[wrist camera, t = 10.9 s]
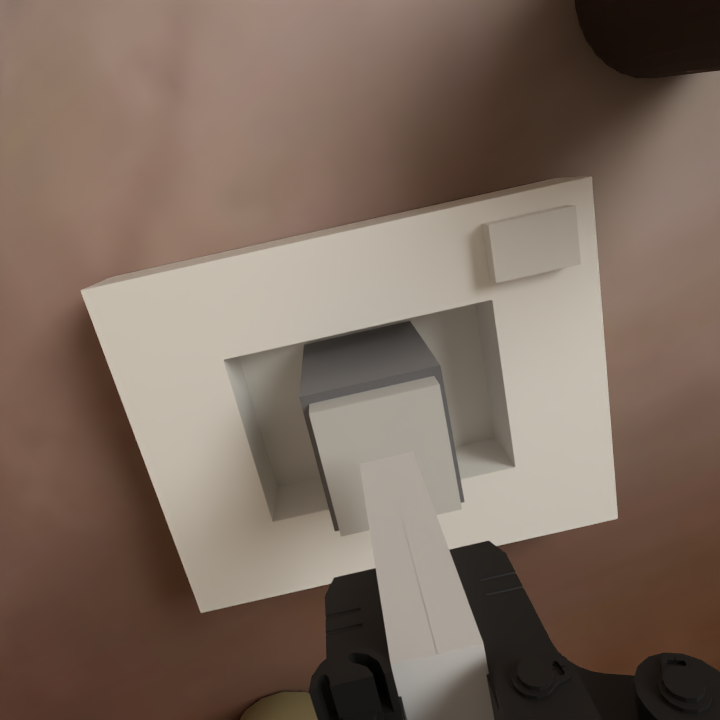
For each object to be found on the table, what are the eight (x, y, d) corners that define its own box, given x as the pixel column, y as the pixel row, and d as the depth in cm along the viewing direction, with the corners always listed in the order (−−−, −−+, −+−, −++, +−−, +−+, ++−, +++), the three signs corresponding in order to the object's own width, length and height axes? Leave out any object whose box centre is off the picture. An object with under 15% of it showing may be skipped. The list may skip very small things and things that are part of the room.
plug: (430, 428, 24) (470, 515, 18) (331, 450, 24) (335, 545, 18) (409, 320, 23) (446, 373, 16) (303, 344, 23) (298, 406, 16)
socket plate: (585, 482, 26) (628, 529, 23) (213, 566, 26) (197, 627, 22) (556, 177, 22) (603, 176, 18) (111, 277, 22) (70, 294, 18)
